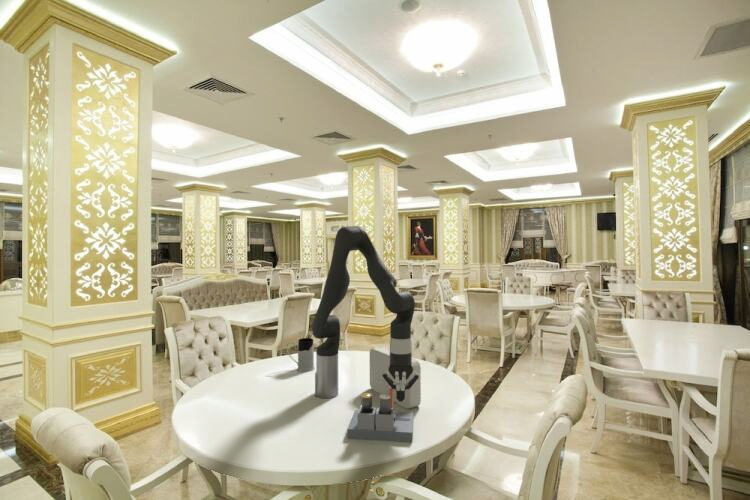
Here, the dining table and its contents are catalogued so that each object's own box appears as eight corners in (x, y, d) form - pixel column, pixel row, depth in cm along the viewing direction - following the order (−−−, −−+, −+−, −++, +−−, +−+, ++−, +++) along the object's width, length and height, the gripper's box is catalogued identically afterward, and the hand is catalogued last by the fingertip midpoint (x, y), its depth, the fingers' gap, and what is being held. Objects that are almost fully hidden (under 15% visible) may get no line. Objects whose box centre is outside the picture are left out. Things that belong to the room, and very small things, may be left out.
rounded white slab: (425, 406, 148) (425, 360, 148) (410, 411, 144) (409, 363, 144) (383, 384, 172) (383, 345, 172) (369, 388, 167) (369, 347, 167)
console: (347, 438, 123) (347, 413, 123) (355, 417, 138) (355, 395, 138) (412, 442, 120) (412, 416, 120) (413, 420, 135) (413, 398, 135)
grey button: (379, 413, 123) (379, 397, 123) (380, 408, 126) (380, 393, 126) (390, 413, 122) (390, 398, 122) (390, 409, 126) (390, 393, 126)
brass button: (360, 412, 123) (360, 396, 123) (362, 407, 127) (362, 392, 127) (371, 412, 123) (371, 397, 123) (373, 408, 127) (372, 393, 127)
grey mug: (313, 371, 190) (312, 341, 190) (284, 371, 190) (284, 341, 190) (315, 366, 199) (315, 337, 199) (288, 366, 199) (288, 337, 199)
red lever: (386, 420, 128) (386, 391, 128) (387, 415, 132) (387, 386, 132) (395, 421, 128) (395, 391, 128) (395, 415, 132) (395, 386, 132)
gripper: (380, 352, 127) (380, 404, 127) (420, 353, 125) (420, 406, 125) (382, 346, 134) (382, 395, 134) (419, 347, 133) (420, 397, 133)
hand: (400, 400), depth 130 cm, fingers closed
